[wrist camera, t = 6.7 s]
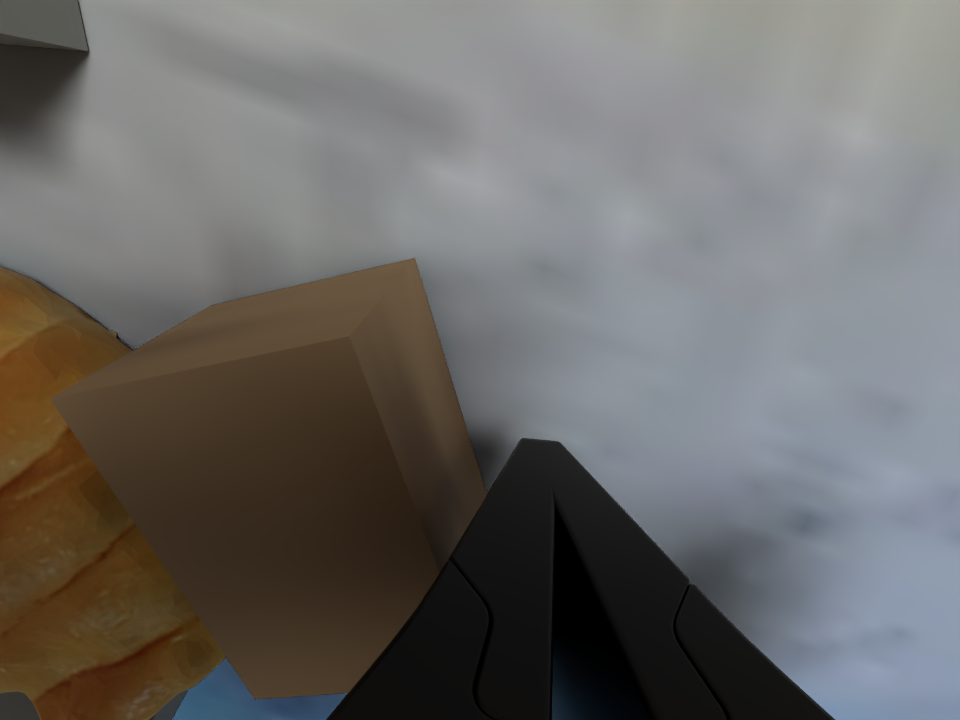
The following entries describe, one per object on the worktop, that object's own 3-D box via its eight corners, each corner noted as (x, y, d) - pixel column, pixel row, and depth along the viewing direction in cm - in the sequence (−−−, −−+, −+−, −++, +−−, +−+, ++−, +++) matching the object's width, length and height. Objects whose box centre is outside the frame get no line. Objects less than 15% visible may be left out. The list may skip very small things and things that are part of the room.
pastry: (-215, 336, 10) (-604, 446, 6) (15, 150, 8) (-324, 160, 5) (138, 627, 13) (11, 806, 10) (348, 529, 12) (288, 698, 8)
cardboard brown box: (495, 522, 11) (481, 683, 8) (328, 543, 12) (254, 699, 9) (414, 258, 9) (350, 336, 5) (212, 305, 9) (49, 399, 6)
